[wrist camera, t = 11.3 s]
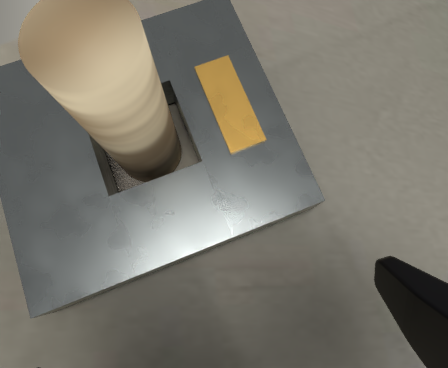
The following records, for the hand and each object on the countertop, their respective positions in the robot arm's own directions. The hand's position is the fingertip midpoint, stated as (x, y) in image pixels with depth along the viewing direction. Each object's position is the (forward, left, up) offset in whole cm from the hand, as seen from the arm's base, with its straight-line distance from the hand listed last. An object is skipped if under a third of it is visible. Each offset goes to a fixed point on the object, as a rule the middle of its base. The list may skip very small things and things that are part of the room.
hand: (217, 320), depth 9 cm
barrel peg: (+10, +1, -14) cm, 17 cm away
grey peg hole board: (+11, +1, -14) cm, 17 cm away
